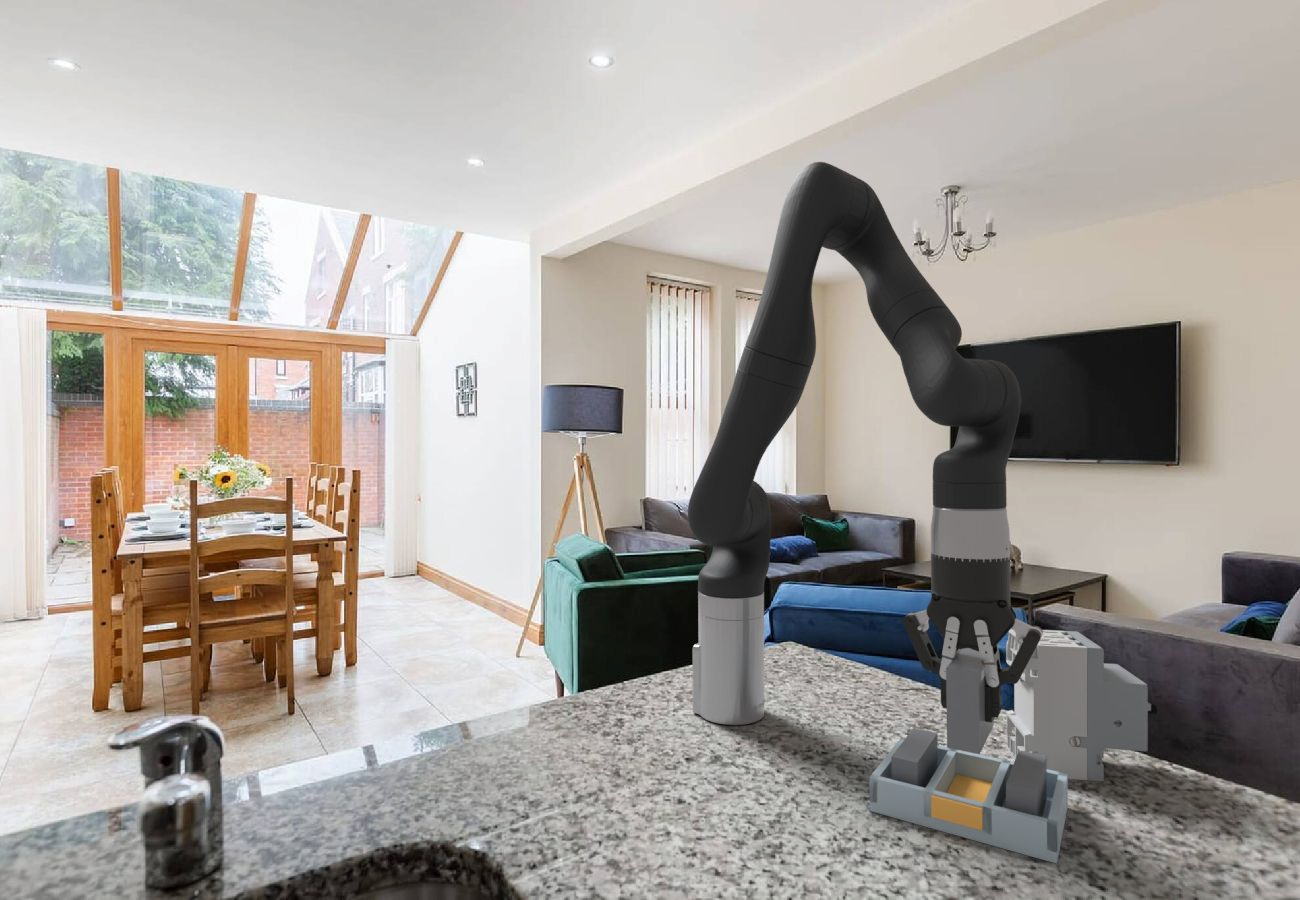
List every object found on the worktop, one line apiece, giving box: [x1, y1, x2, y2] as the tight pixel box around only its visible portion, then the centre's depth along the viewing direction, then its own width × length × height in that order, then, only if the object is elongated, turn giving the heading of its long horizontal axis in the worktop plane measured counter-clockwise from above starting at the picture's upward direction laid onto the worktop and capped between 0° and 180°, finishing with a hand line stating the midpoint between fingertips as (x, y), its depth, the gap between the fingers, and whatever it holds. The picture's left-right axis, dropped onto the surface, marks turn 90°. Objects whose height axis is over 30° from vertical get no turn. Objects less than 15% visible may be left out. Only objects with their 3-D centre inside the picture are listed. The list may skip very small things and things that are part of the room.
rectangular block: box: [946, 648, 995, 755], centre depth 75 cm, size 3×9×8 cm, turn 146°
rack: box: [868, 727, 1069, 865], centre depth 75 cm, size 17×12×6 cm
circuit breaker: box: [1005, 628, 1158, 782], centre depth 85 cm, size 8×14×15 cm, turn 78°
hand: (971, 715), depth 75 cm, fingers closed on rectangular block, 3 cm apart
